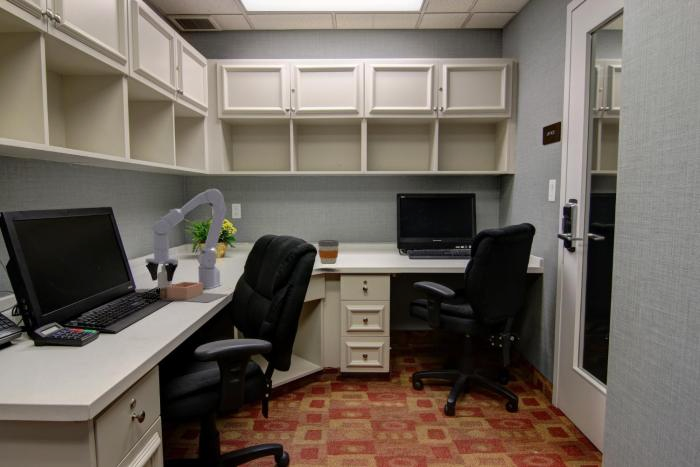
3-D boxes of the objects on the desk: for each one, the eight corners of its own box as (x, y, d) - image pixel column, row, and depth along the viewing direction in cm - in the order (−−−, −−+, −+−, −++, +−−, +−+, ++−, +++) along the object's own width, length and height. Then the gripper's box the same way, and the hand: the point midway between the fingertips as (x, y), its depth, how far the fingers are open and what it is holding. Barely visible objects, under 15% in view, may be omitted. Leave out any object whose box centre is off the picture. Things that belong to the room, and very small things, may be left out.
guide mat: (177, 291, 172) (177, 291, 172) (228, 294, 167) (228, 294, 167) (153, 299, 159) (153, 298, 159) (208, 302, 153) (208, 302, 153)
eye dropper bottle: (166, 289, 178) (165, 262, 177) (173, 290, 174) (172, 263, 173) (156, 290, 174) (155, 263, 173) (163, 292, 171) (162, 264, 170)
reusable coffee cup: (332, 263, 257) (332, 239, 256) (342, 265, 246) (342, 241, 245) (314, 264, 250) (314, 240, 249) (324, 267, 240) (324, 242, 239)
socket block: (184, 292, 170) (183, 281, 169) (203, 293, 167) (202, 282, 167) (166, 298, 159) (166, 286, 159) (186, 299, 157) (186, 287, 157)
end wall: (181, 291, 171) (181, 282, 171) (185, 292, 171) (185, 282, 171) (160, 298, 159) (160, 288, 158) (164, 298, 158) (164, 288, 158)
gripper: (139, 249, 170) (140, 281, 171) (169, 250, 166) (170, 283, 167) (152, 247, 176) (152, 278, 177) (180, 248, 173) (181, 280, 174)
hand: (162, 280), depth 173 cm, fingers open, 7 cm apart
